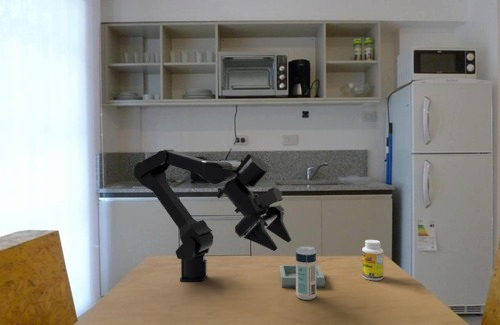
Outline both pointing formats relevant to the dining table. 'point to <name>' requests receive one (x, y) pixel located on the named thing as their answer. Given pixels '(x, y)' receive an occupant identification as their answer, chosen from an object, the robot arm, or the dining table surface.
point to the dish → (290, 276)
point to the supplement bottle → (372, 260)
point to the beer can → (306, 272)
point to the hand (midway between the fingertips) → (283, 245)
